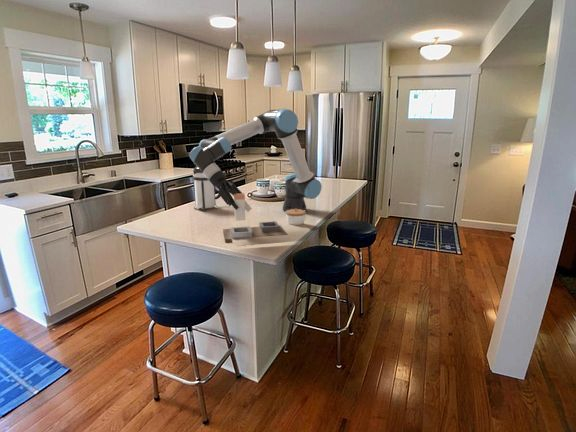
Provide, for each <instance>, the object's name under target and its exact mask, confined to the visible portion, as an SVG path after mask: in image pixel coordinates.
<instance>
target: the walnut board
mask: <svg viewBox="0 0 576 432" xmlns="http://www.w3.org/2000/svg"><path fill="white" fill-rule="evenodd" d="M279 226H280V231H273V232H262V231H261V229H260V227H259V226H250V228H251V230H252V237H248V238H247V239H251V238H264V237H275V236H277V237H279V236H288V233H287V231H286V230H285V229H284V227H283V226H282V225H281V224H279ZM222 232H223V238H224V243H232V242H233V239H232V236H231V232H230V228H222ZM235 239H240V238H235ZM235 239H234V240H235Z"/></svg>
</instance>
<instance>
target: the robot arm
mask: <svg viewBox="0 0 576 432" xmlns="http://www.w3.org/2000/svg"><path fill="white" fill-rule="evenodd" d="M298 124H299V118H298V116H297V114H296V113H295V112H294V111H293V110H291V109H287V108H281V109H271V110H267V111H266V112H264V113H261V114H259V115H257V116H254V117H253V119H252V120H250V121H247V122H244V123H243V124H241V125H238V126H236V127H233V128H231V129H229V130H226V131H224V132H222V133H220V134H217V135H215V136H212V137H209V138H205V139H202V140H200V142H199V143H198V146H195V147H194V148H192V149H191V151H190V152H189V154H188V155H189V159H190V160H191V161H192V162H193V164H194V165H195V167H198V168H199V169H200V170H201V171H202V173H203V174H204V175H205V177H207V179H209V181H210V182H211V183H212V185H213V186H215V188H214V190H215V192H216V193H218V194H219V195H220V198H221V199H222V200H223V201H224V203H225V205H228V207H231V206H232V207H233V209H234V208H235V210H236V211H237V212H238V213H239V214H240V215H242V214H243V213H244V212H245V213H246V212H247V213H249V212H250V211H251V210H252V209H253V208H252V206H251V205H250V204H249V203H248V202H247V200H245V211H244V210H243V209H242V207H241V206H240V205H239V204H238V203H237V202H236V201H234V194H236V193H243V192H242V191H241V190H240V189H239V188H238V187H237V186H236V184H235V183H234V182H233V180H231V181H228V180H227V179H226V178H227V176H226V174H225V172H223V170H221V168H220V167H219V165H217V164H216V162H215V161H217V160H218V159H220V158H221V157H223V156H224V155H225V154H226V155H227V153H229V152H230V151H231V150H232V145H235V144H238V143H239V142H242V141H244V140H247V139H249V138H251V137H253V136H256V135H257V134H260V135H262V134H265V133H270V132H274V133H275V134H276V135H275V136H276V137H277V139H278V140H280V141H281V142H282V145H283V147H284V150H285V152H286V156H287V157H288V161H289V162H290V165H291V167H292V169H293V170H292V171H293V173H289V174H287V175H286V176H285V180H284V181H285V187H284V189H285V195H284V196H285V198H284V201H283V205H282V211H283V210H284V211H283V212H285V211H287V210H291V209H295V208H297V209H300V210H306V211H307V205H306V201H305V199H304V198H306V199H307V200H309V199H310V200H312V199H313V200H315V199H316V198H317V197H318V196H319V195H320V194H321V191H322V187H323V186H322V183H321V181H320V180H319V179H316V178H315V177H316V176H315V173H314V172H313V171H310V168H309V165H308V163H307V160H306V157H305V154H304V152H303V149H302V147H301V143H300V141H299V138H298V135H297V133H298V126H299V125H298ZM218 194H217V195H218Z"/></svg>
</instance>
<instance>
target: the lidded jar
mask: <svg viewBox="0 0 576 432" xmlns="http://www.w3.org/2000/svg"><path fill="white" fill-rule="evenodd" d="M285 219H286V222H287V223H288V225H292V226H294V225H295V226H297V225H298V226H299V225H303V224H304V223H305V220H306V211H304V210H300V209H297V208H295V209H291V210H287V211H286V212H285Z"/></svg>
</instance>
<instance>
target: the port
mask: <svg viewBox="0 0 576 432" xmlns="http://www.w3.org/2000/svg"><path fill="white" fill-rule="evenodd" d="M250 227H251V226H250V225H249V226H248V225H247V226H234V227H230V228H229V229H230V232H231V236H232V240H235V238H239V239H249V238H248V237H252V230H251V228H250ZM252 238H253V237H252Z"/></svg>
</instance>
